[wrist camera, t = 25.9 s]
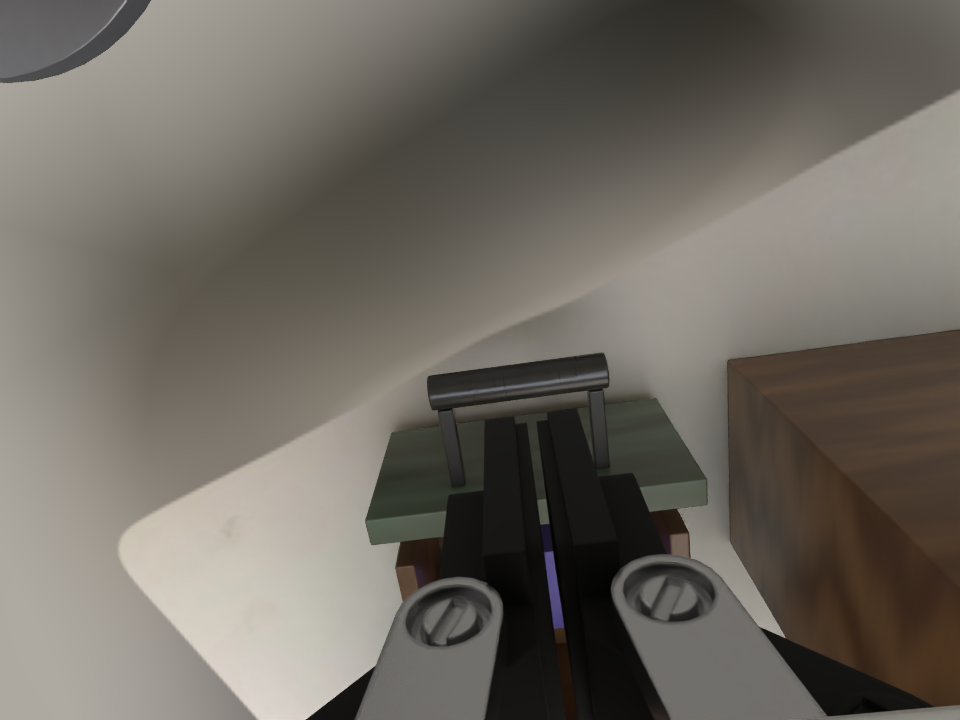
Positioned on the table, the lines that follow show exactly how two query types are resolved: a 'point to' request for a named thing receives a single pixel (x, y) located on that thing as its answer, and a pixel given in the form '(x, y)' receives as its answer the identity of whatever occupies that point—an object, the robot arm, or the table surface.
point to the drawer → (460, 464)
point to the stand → (855, 503)
